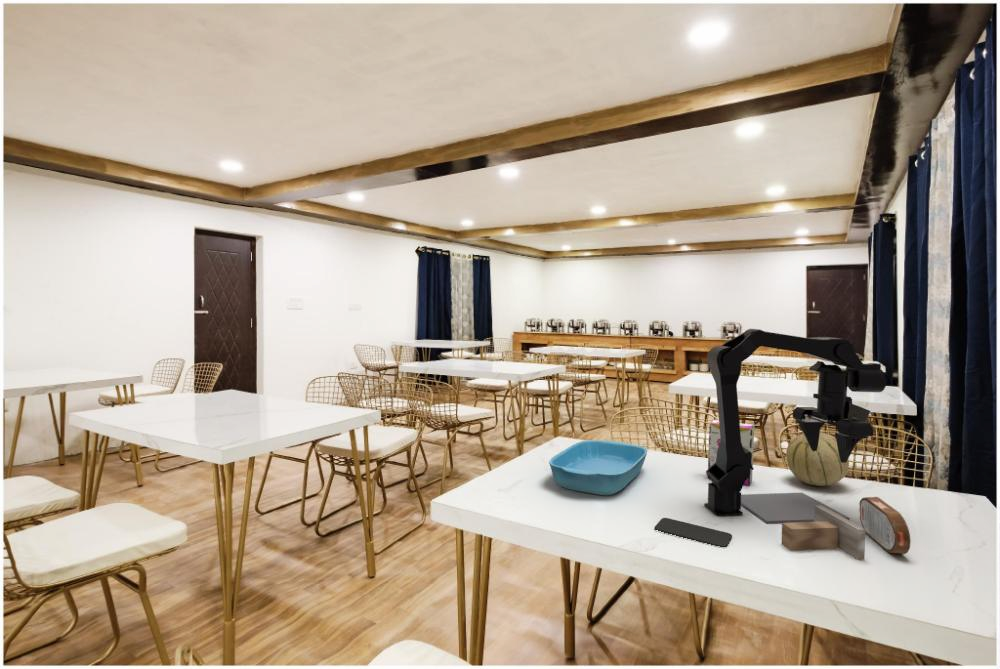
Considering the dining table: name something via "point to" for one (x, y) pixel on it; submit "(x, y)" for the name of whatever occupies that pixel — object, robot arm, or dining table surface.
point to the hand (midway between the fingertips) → (828, 456)
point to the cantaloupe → (816, 460)
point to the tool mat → (783, 507)
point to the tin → (884, 525)
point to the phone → (694, 532)
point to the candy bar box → (714, 439)
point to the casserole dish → (597, 466)
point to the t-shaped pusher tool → (825, 534)
